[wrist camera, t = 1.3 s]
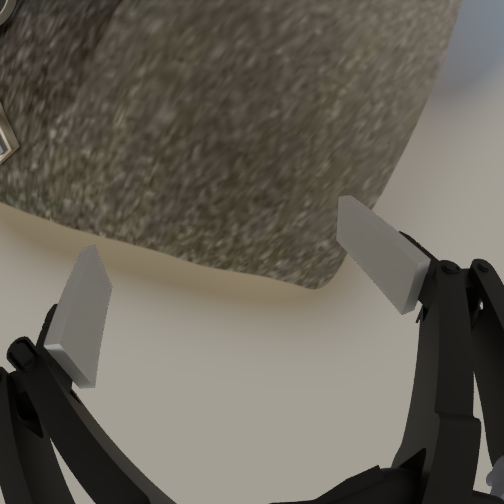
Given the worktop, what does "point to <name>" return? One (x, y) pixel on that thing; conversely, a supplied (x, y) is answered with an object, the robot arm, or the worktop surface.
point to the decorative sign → (6, 9)
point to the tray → (6, 137)
